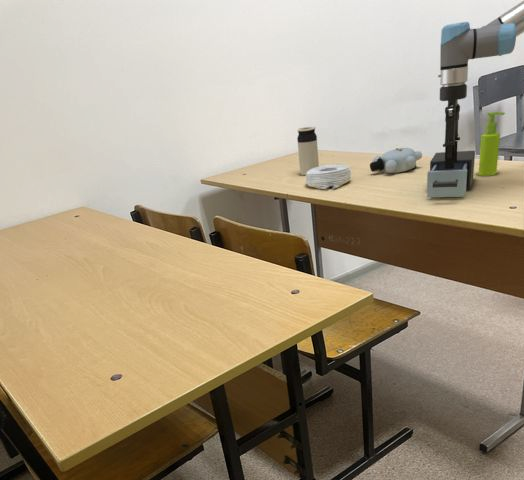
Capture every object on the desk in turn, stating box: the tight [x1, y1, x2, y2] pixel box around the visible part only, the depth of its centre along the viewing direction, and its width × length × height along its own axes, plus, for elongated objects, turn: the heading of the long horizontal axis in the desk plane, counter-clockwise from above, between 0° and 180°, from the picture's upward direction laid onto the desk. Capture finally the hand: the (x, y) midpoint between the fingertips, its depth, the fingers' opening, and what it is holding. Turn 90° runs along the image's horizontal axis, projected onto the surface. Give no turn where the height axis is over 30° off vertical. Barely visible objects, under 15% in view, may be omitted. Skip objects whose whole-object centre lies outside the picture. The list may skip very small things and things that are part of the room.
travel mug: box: [296, 126, 320, 176], centre depth 221 cm, size 8×8×18 cm
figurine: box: [369, 147, 423, 174], centre depth 208 cm, size 17×8×20 cm
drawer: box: [426, 162, 468, 198], centre depth 166 cm, size 18×11×8 cm, turn 158°
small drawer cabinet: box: [429, 150, 476, 192], centre depth 176 cm, size 15×13×10 cm
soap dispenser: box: [478, 111, 506, 177], centre depth 181 cm, size 6×7×20 cm
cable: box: [304, 164, 352, 191], centre depth 202 cm, size 18×18×6 cm
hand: (450, 165), depth 165 cm, fingers open, 8 cm apart
